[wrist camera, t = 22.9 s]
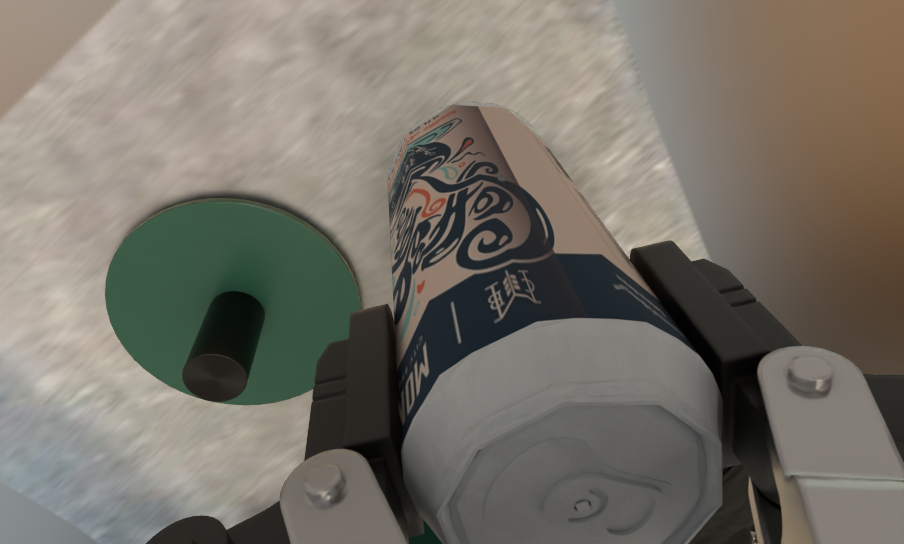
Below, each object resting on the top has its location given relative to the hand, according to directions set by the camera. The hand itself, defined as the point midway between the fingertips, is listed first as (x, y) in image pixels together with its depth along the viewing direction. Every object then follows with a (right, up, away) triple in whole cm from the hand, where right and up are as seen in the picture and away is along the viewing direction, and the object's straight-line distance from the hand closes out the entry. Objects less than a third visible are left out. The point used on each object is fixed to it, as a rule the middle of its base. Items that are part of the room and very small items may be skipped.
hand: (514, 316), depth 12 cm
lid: (-13, -1, +23) cm, 26 cm away
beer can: (-1, +4, +7) cm, 8 cm away
